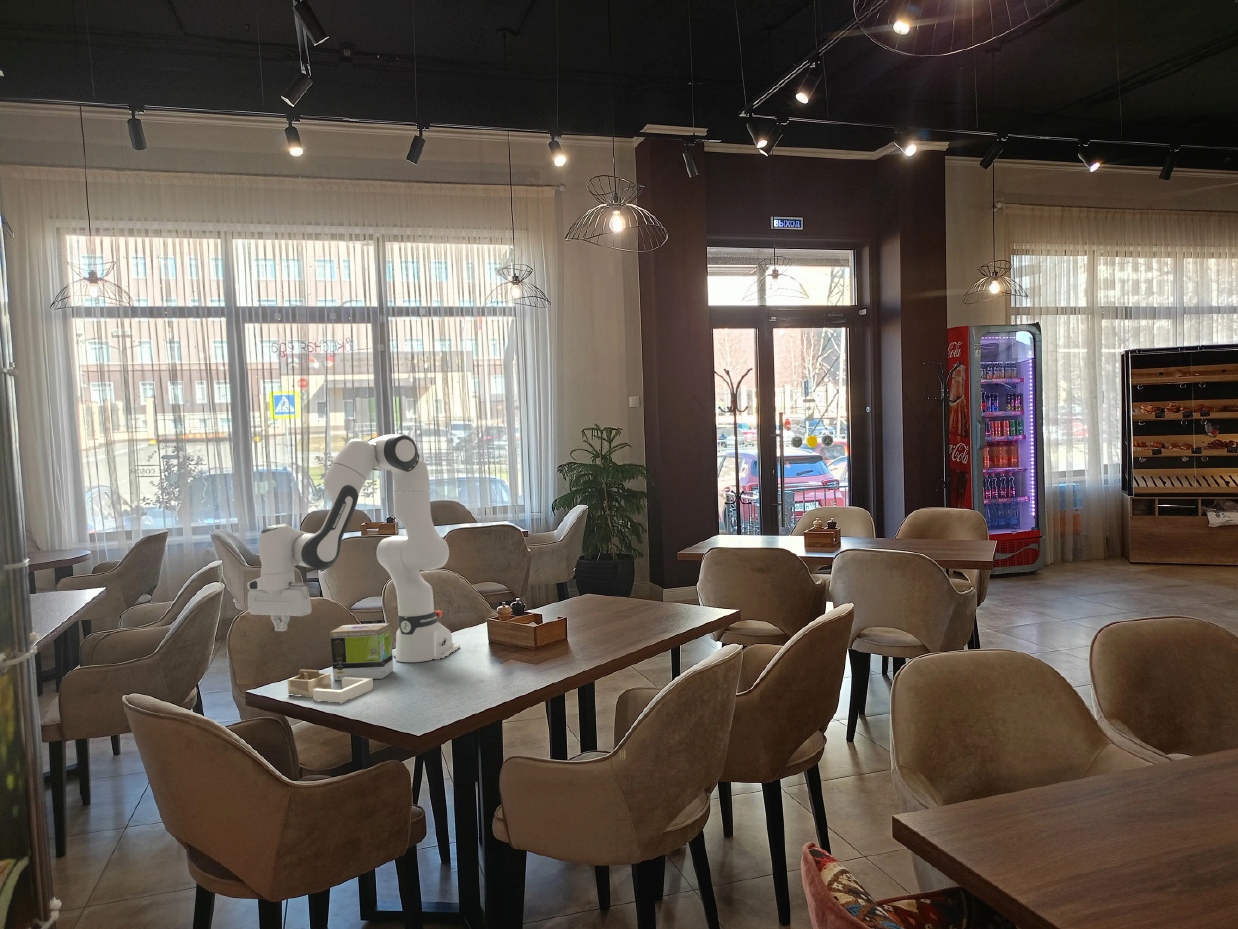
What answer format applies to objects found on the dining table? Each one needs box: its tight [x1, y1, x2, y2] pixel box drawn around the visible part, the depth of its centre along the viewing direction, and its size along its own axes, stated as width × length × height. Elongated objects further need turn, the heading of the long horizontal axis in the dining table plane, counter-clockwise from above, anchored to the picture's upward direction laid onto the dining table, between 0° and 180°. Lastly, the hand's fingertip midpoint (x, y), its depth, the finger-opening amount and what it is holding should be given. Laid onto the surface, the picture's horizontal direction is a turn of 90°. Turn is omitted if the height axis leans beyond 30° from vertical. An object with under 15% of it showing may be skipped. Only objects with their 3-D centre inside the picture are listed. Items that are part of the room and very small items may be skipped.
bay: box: [312, 677, 374, 704], centre depth 237 cm, size 13×10×3 cm
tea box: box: [329, 622, 394, 681], centre depth 257 cm, size 15×10×15 cm, turn 84°
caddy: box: [287, 669, 332, 698], centre depth 242 cm, size 8×8×6 cm
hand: (281, 630), depth 245 cm, fingers closed
